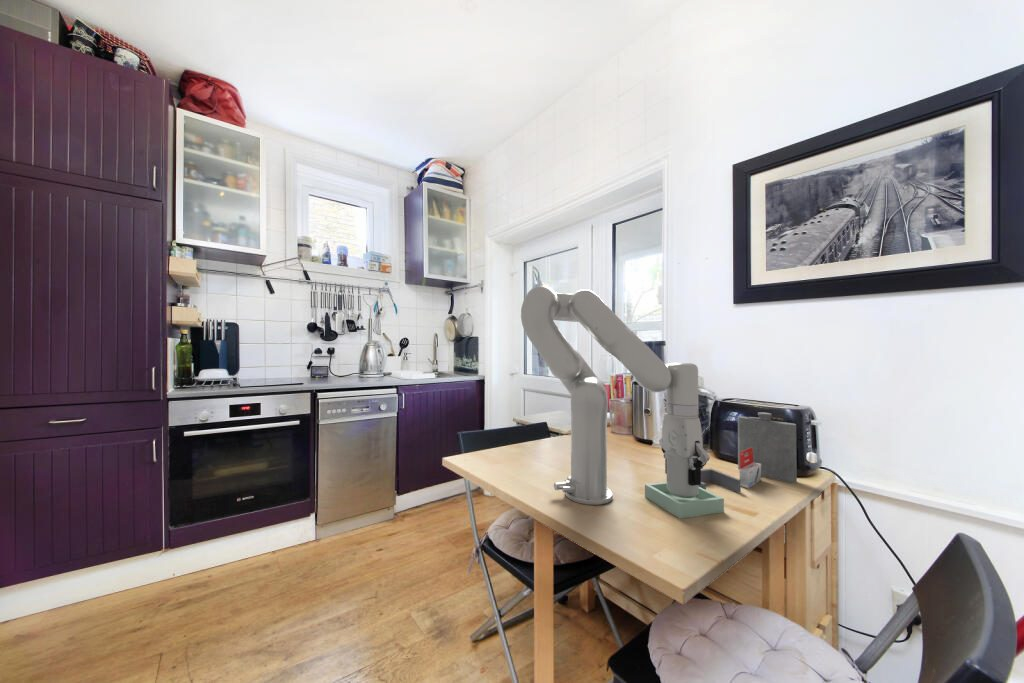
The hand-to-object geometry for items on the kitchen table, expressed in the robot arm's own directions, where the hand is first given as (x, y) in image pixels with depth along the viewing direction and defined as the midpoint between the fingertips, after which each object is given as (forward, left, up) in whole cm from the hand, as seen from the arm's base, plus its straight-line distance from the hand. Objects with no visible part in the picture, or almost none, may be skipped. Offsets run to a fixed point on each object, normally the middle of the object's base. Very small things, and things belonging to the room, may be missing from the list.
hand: (682, 478), depth 92 cm
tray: (0, 0, -6) cm, 6 cm away
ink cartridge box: (+31, +7, -7) cm, 33 cm away
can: (0, 0, -4) cm, 4 cm away
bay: (+15, +7, -6) cm, 18 cm away
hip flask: (+42, +11, -7) cm, 44 cm away
